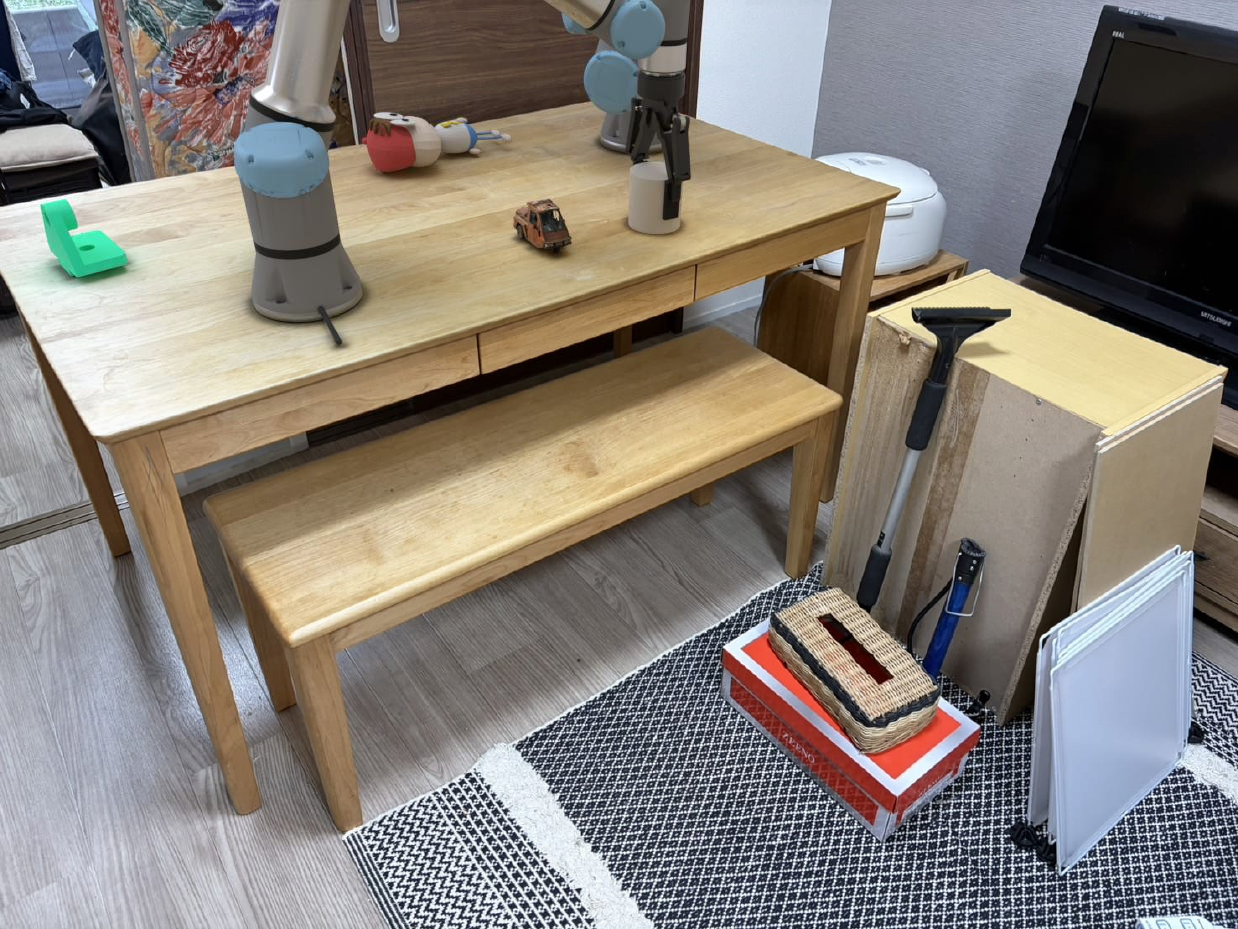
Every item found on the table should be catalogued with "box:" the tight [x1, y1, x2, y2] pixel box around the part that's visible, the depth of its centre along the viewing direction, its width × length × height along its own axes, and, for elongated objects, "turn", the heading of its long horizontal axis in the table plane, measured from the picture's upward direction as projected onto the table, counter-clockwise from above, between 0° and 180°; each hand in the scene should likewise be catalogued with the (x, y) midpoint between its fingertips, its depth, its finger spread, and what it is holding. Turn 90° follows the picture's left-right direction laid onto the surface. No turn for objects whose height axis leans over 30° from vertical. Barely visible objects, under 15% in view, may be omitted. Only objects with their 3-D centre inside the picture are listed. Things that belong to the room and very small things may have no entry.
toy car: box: [512, 198, 573, 256], centre depth 150 cm, size 6×12×7 cm, turn 39°
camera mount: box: [39, 198, 129, 278], centre depth 139 cm, size 12×8×10 cm, turn 42°
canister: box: [627, 161, 684, 235], centre depth 158 cm, size 9×9×9 cm
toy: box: [361, 111, 513, 173], centre depth 182 cm, size 18×10×30 cm
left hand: (654, 208), depth 159 cm, fingers closed on canister, 9 cm apart
